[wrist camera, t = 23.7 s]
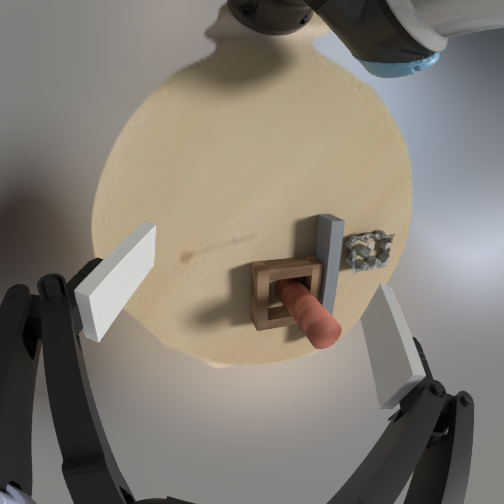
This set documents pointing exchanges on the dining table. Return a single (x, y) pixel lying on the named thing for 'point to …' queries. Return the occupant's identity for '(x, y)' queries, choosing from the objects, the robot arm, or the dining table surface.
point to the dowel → (308, 313)
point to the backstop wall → (329, 256)
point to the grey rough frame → (368, 251)
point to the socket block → (279, 270)
